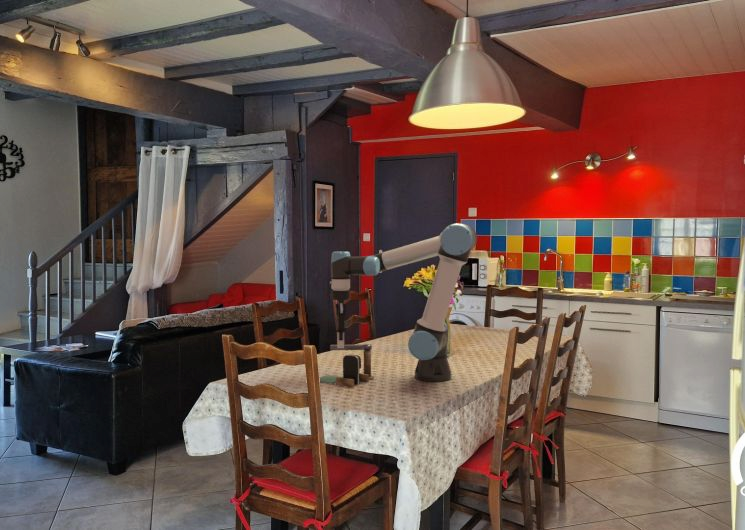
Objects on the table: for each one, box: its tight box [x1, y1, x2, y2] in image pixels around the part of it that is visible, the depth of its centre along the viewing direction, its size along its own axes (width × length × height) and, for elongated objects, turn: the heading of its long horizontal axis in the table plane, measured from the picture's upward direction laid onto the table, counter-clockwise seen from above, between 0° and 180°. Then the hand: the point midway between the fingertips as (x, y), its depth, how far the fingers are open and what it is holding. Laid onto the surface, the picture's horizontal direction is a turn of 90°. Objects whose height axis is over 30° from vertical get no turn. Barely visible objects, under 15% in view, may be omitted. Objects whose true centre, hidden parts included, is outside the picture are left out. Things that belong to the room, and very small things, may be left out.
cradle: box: [335, 350, 375, 389], centre depth 255 cm, size 8×19×12 cm, turn 146°
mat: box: [319, 374, 343, 385], centre depth 258 cm, size 10×10×1 cm
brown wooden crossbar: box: [329, 343, 373, 351], centre depth 260 cm, size 4×17×2 cm, turn 92°
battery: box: [342, 354, 362, 386], centre depth 252 cm, size 7×4×11 cm, turn 60°
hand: (340, 347), depth 258 cm, fingers closed
